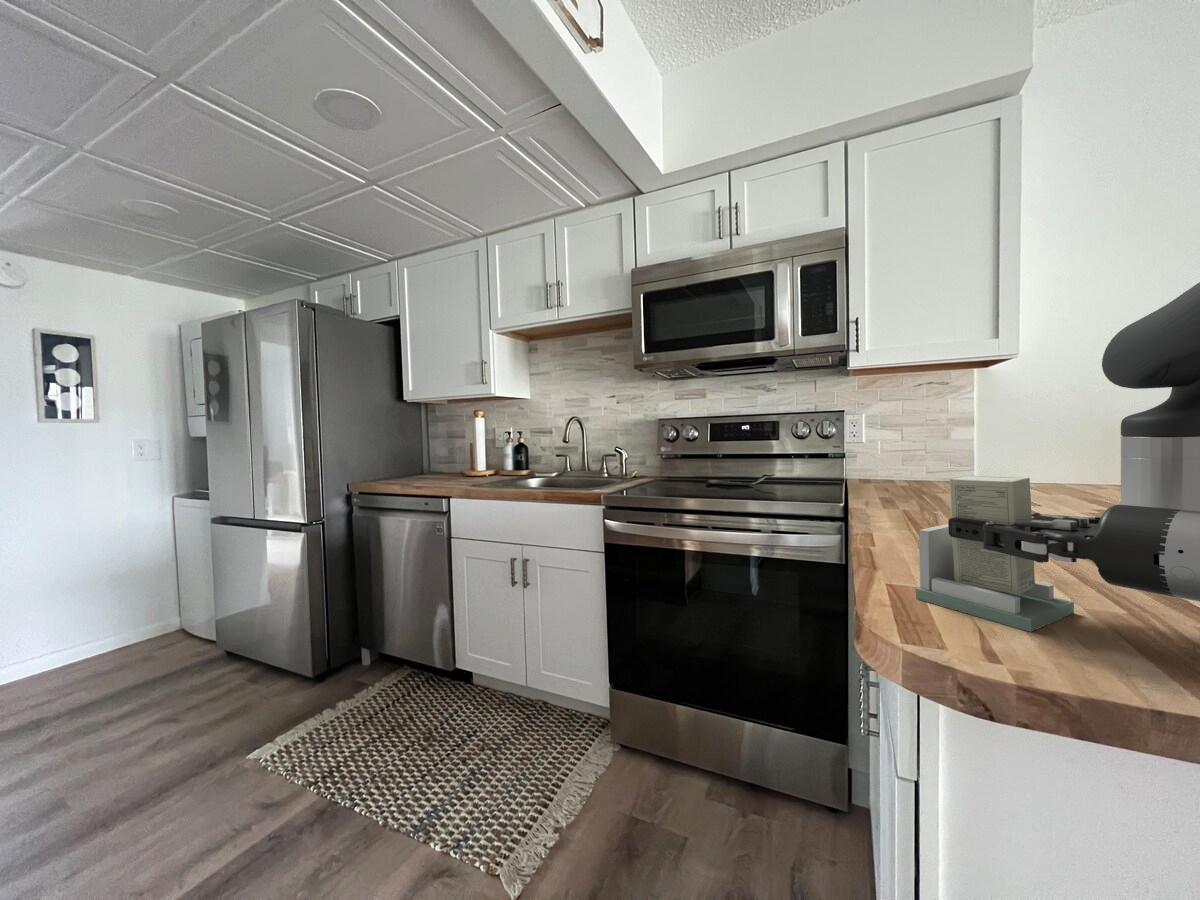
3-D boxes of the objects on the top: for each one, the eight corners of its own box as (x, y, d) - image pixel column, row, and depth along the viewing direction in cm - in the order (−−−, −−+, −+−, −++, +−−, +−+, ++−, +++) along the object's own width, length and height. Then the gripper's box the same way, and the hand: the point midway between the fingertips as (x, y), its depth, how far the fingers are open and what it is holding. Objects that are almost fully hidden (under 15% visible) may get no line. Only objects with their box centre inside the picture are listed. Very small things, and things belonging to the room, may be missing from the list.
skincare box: (1036, 588, 52) (1034, 477, 52) (1018, 597, 50) (1016, 481, 50) (969, 575, 58) (967, 474, 57) (950, 582, 56) (947, 477, 55)
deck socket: (959, 584, 61) (958, 520, 61) (1074, 613, 51) (1074, 536, 51) (916, 598, 57) (915, 530, 57) (1030, 632, 47) (1030, 549, 47)
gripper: (1215, 501, 44) (995, 486, 59) (1153, 521, 38) (924, 498, 53) (1215, 582, 44) (996, 546, 60) (1153, 615, 38) (926, 565, 53)
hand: (963, 523), depth 56 cm, fingers closed on skincare box, 4 cm apart
